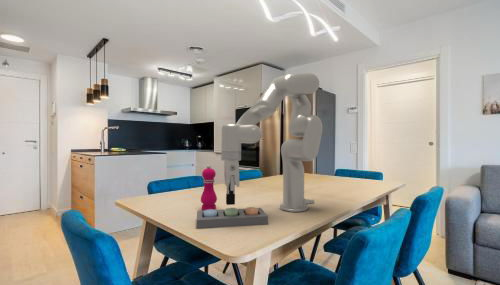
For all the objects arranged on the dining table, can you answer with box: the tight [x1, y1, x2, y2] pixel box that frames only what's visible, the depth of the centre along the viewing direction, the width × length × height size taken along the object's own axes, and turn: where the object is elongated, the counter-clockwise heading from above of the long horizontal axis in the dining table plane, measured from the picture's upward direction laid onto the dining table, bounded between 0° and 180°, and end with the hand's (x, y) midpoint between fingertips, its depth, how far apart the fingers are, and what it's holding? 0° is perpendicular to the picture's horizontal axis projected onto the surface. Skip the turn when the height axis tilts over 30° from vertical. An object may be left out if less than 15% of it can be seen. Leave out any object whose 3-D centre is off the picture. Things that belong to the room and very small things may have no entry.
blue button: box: [203, 209, 218, 217], centre depth 97 cm, size 5×5×3 cm
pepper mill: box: [200, 164, 218, 211], centre depth 116 cm, size 7×7×20 cm
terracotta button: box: [244, 206, 259, 215], centre depth 100 cm, size 5×5×3 cm
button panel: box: [196, 207, 269, 230], centre depth 99 cm, size 26×12×3 cm, turn 101°
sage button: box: [224, 207, 239, 216], centre depth 99 cm, size 5×5×3 cm
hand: (230, 204), depth 99 cm, fingers closed
